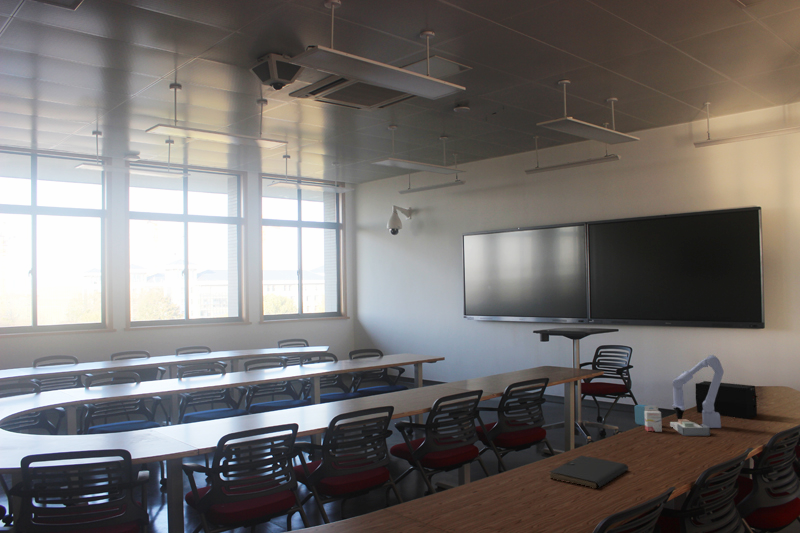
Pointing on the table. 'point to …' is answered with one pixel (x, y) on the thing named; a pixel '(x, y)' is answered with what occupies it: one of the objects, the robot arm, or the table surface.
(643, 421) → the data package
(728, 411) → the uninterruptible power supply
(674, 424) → the ledge board
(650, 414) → the ink cartridge box
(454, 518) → the table surface
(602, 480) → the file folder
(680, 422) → the terracotta tile
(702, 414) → the robot arm
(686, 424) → the green tile
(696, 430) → the bin
